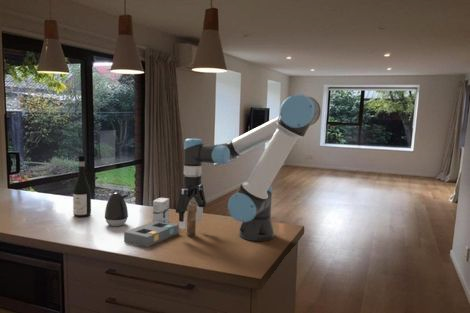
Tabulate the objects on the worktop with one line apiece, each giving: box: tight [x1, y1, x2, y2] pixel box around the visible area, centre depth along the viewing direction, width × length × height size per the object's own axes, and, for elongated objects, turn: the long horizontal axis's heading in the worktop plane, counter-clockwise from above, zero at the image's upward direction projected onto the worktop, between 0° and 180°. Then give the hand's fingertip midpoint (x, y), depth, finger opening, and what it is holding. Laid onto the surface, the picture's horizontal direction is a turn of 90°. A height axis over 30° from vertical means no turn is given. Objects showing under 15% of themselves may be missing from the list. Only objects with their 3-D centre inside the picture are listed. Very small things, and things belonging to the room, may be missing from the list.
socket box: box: [123, 220, 179, 248], centre depth 154 cm, size 12×20×4 cm, turn 153°
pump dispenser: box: [104, 191, 129, 227], centre depth 170 cm, size 10×10×15 cm
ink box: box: [152, 197, 170, 223], centre depth 173 cm, size 8×5×12 cm, turn 168°
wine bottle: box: [72, 154, 92, 218], centre depth 182 cm, size 8×8×30 cm
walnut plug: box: [186, 201, 197, 237], centre depth 158 cm, size 4×4×14 cm
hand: (191, 225), depth 158 cm, fingers open, 12 cm apart
